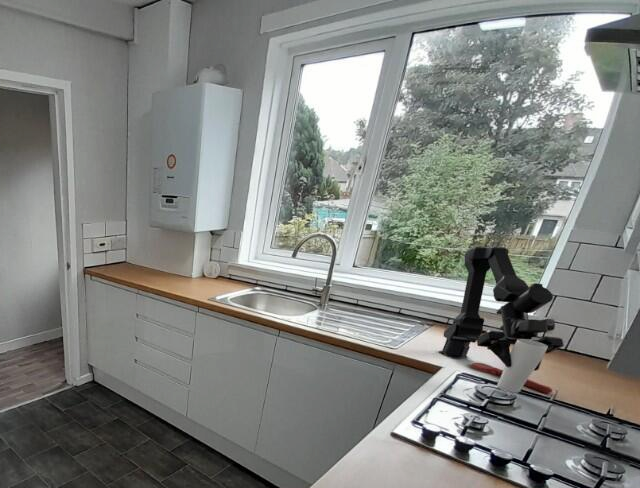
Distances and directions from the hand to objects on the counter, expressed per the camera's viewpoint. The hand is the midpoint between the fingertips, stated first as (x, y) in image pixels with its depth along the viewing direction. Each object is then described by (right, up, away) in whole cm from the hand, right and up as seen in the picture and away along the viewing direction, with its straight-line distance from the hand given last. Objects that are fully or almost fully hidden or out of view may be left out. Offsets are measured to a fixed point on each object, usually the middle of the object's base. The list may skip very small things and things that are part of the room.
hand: (522, 368), depth 117 cm
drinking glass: (0, -6, +4) cm, 8 cm away
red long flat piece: (+11, -4, +16) cm, 19 cm away
